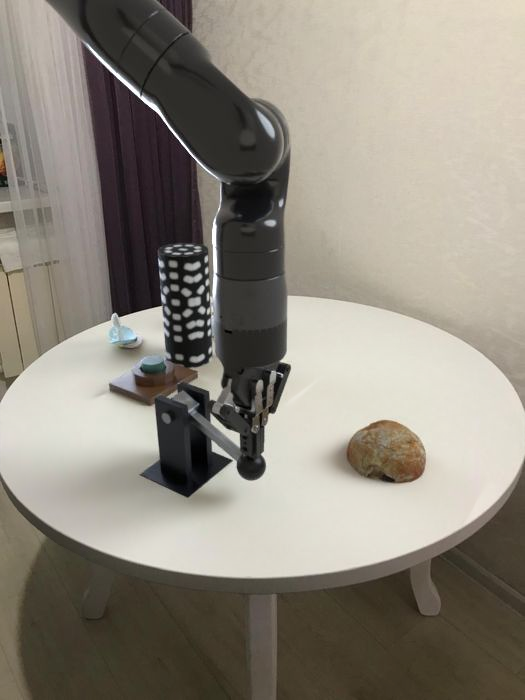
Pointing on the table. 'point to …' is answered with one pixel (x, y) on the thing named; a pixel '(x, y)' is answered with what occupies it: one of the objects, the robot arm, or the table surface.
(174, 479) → the bracket
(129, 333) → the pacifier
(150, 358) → the button
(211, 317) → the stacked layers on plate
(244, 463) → the lever
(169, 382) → the button block
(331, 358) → the table surface
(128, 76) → the robot arm
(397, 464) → the bread roll
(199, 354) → the white-spotted black cylinder
